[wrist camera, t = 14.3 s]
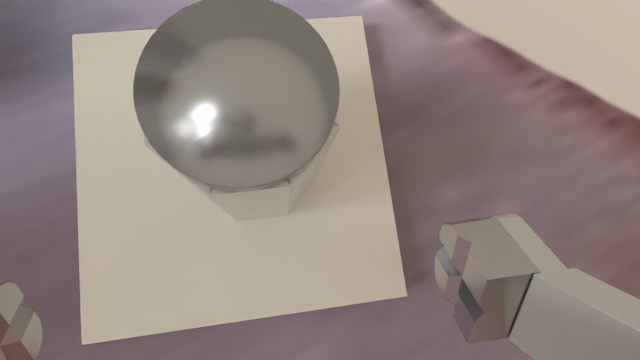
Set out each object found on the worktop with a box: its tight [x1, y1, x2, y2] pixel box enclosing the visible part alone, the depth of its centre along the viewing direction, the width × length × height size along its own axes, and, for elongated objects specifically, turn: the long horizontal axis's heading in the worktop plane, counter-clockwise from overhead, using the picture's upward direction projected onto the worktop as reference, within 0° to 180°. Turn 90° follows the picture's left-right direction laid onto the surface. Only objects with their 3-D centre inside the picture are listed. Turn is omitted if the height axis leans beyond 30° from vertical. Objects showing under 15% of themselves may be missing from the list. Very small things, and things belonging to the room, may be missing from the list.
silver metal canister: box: [133, 0, 341, 221], centre depth 15 cm, size 5×5×8 cm
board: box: [72, 16, 407, 345], centre depth 20 cm, size 14×14×1 cm
